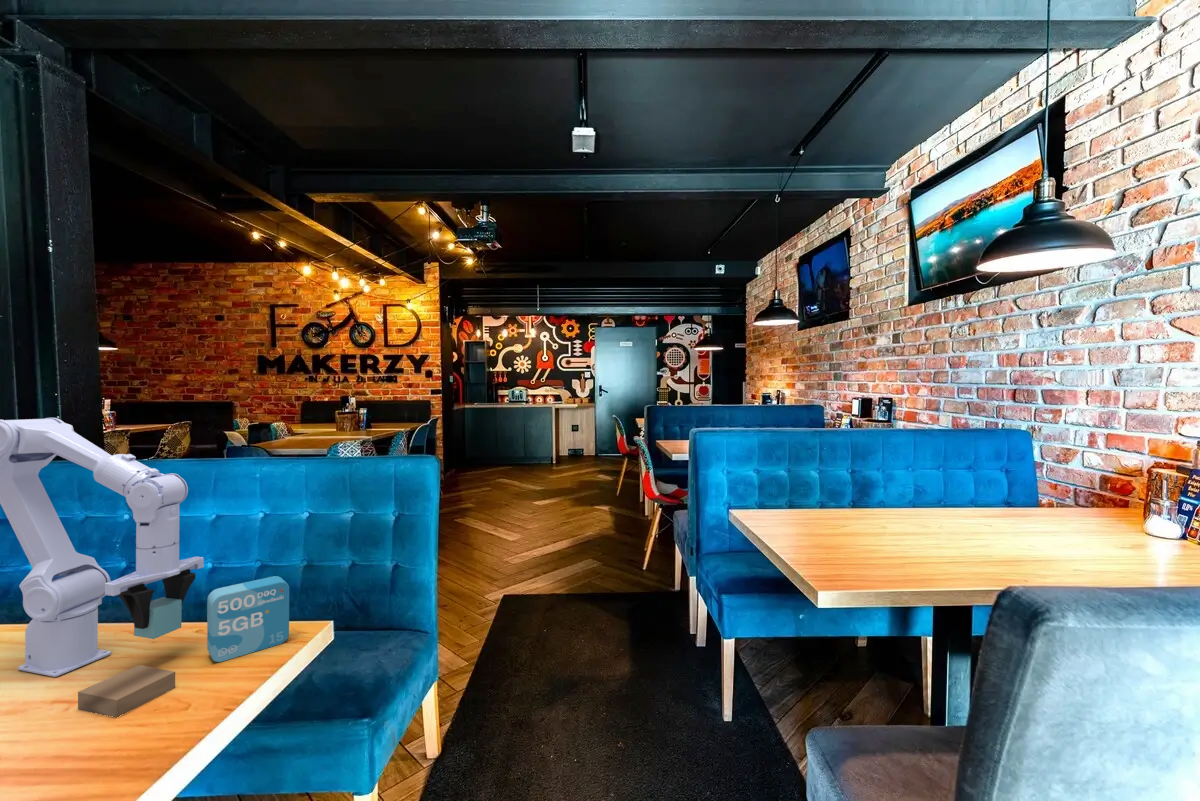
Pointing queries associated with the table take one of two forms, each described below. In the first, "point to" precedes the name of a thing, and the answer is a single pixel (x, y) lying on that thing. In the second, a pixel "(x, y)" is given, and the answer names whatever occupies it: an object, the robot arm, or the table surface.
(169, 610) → the teal block
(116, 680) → the walnut block
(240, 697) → the table surface
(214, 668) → the table surface
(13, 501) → the robot arm
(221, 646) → the data package
